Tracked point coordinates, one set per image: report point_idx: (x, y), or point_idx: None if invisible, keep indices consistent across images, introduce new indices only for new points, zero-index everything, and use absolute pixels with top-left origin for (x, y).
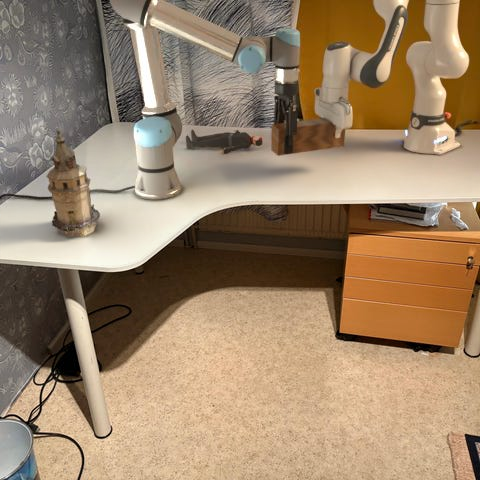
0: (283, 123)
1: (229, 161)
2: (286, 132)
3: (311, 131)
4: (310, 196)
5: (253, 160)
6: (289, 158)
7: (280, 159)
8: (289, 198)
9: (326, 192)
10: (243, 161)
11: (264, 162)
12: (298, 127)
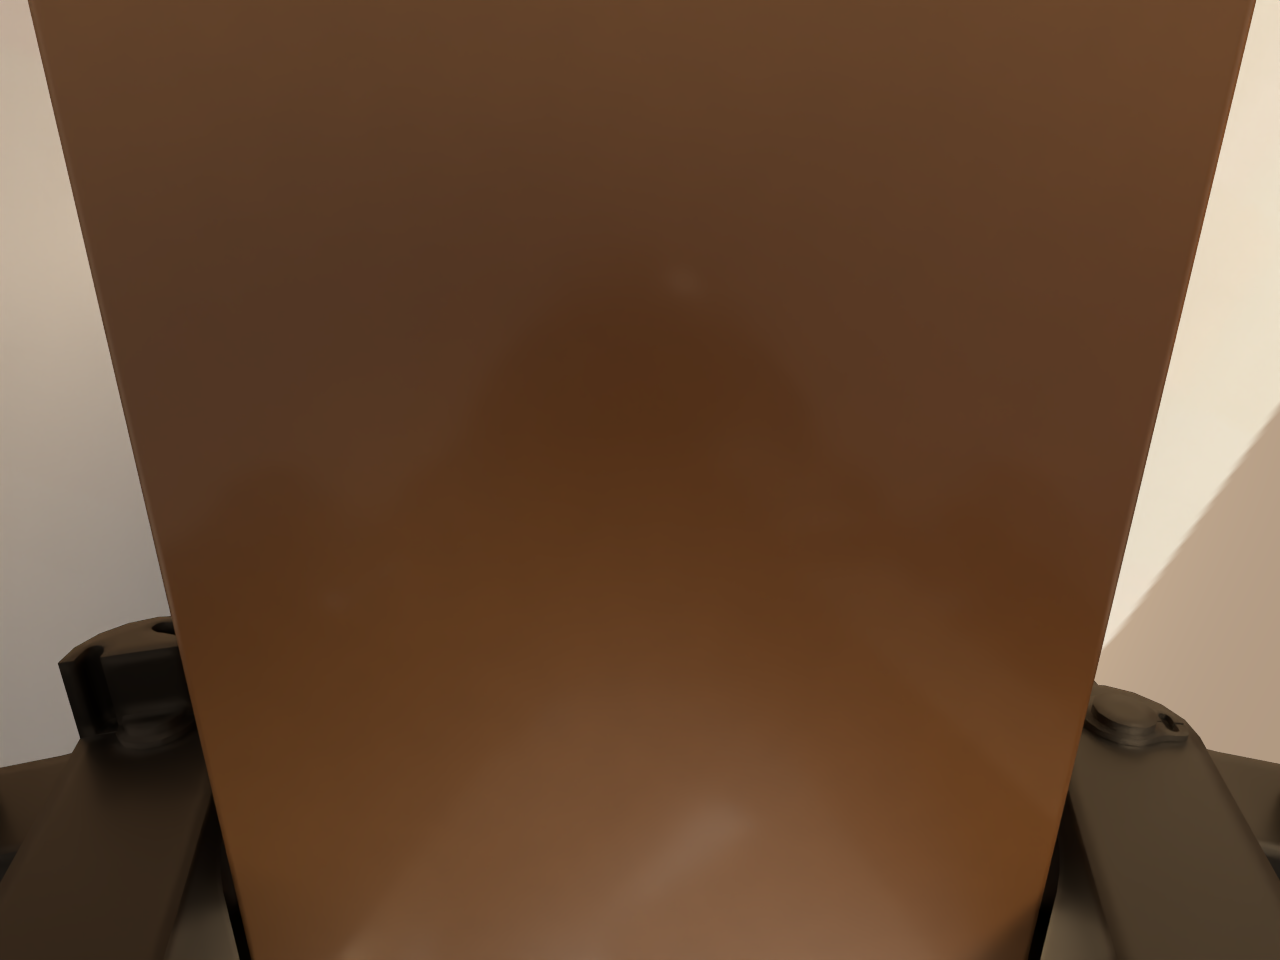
0: (335, 939)
1: (21, 728)
2: (1032, 956)
3: None
4: (1229, 333)
5: (22, 501)
6: (5, 18)
7: (30, 167)
8: (1138, 548)
9: (1260, 97)
10: (40, 608)
11: (109, 408)
12: (1100, 547)
